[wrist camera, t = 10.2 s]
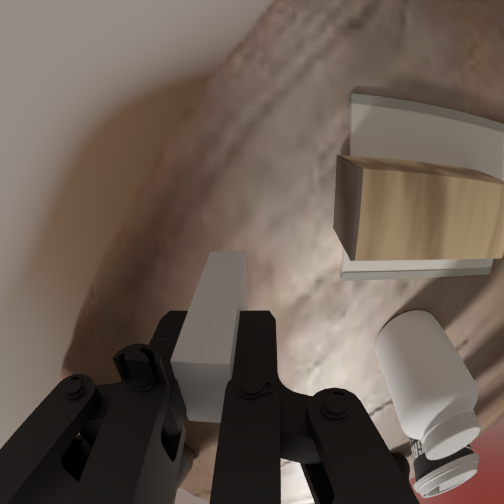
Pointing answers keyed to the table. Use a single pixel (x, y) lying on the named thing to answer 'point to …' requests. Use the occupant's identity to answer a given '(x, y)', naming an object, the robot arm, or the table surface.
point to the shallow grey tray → (422, 150)
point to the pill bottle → (428, 383)
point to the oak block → (417, 210)
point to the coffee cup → (441, 469)
